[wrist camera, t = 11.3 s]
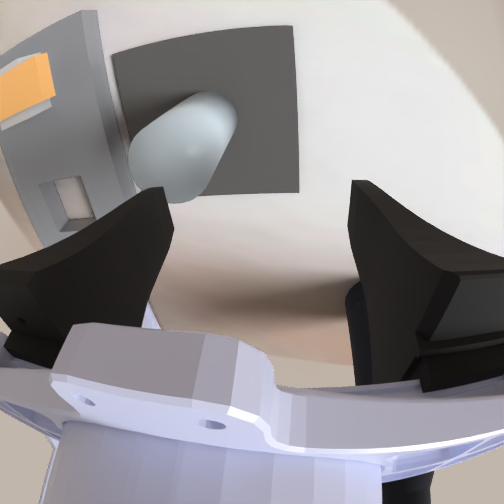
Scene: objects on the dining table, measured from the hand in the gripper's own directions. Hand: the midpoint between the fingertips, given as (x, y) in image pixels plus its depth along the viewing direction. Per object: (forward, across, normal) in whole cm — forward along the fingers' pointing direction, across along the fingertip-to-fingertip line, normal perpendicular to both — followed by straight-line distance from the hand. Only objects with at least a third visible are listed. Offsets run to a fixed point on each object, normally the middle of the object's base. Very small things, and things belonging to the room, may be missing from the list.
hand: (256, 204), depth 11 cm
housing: (+10, +17, -1) cm, 20 cm away
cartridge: (+10, +4, -1) cm, 11 cm away
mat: (+10, +4, -1) cm, 11 cm away
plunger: (+8, +17, -7) cm, 20 cm away
